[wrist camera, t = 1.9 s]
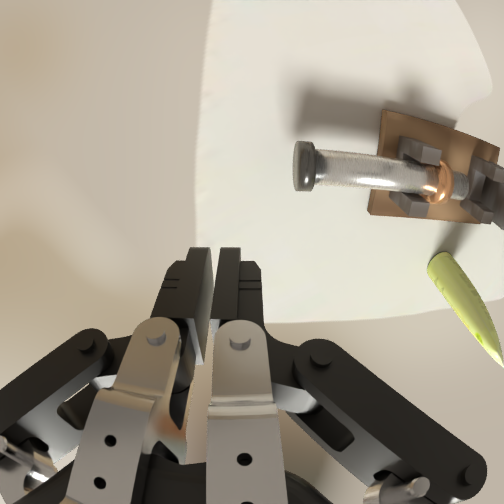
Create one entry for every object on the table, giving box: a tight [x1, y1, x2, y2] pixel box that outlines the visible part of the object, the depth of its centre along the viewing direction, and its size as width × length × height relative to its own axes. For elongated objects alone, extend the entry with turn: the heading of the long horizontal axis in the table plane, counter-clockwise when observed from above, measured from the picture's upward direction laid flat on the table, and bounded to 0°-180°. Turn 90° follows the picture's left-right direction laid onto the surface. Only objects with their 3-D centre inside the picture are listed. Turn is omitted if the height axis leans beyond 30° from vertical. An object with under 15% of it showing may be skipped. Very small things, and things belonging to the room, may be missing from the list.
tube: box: [427, 252, 504, 368], centre depth 26 cm, size 6×5×20 cm
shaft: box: [293, 141, 469, 205], centre depth 23 cm, size 5×19×5 cm, turn 89°
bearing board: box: [367, 110, 504, 230], centre depth 24 cm, size 12×20×7 cm, turn 89°
